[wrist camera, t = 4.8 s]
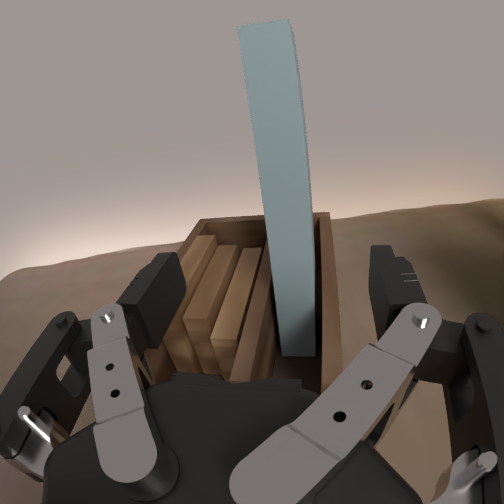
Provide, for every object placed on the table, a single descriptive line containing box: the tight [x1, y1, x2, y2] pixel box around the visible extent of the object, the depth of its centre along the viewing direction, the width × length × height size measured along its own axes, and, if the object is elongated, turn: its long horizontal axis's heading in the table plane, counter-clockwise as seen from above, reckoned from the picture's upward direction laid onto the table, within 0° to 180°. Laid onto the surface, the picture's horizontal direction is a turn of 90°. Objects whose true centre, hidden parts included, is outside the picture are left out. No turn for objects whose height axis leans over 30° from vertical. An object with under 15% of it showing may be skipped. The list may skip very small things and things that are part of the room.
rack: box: [145, 212, 342, 394], centre depth 29 cm, size 16×23×7 cm
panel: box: [237, 19, 316, 356], centre depth 23 cm, size 3×6×26 cm, turn 170°
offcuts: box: [163, 235, 263, 382], centre depth 29 cm, size 7×13×8 cm, turn 170°
